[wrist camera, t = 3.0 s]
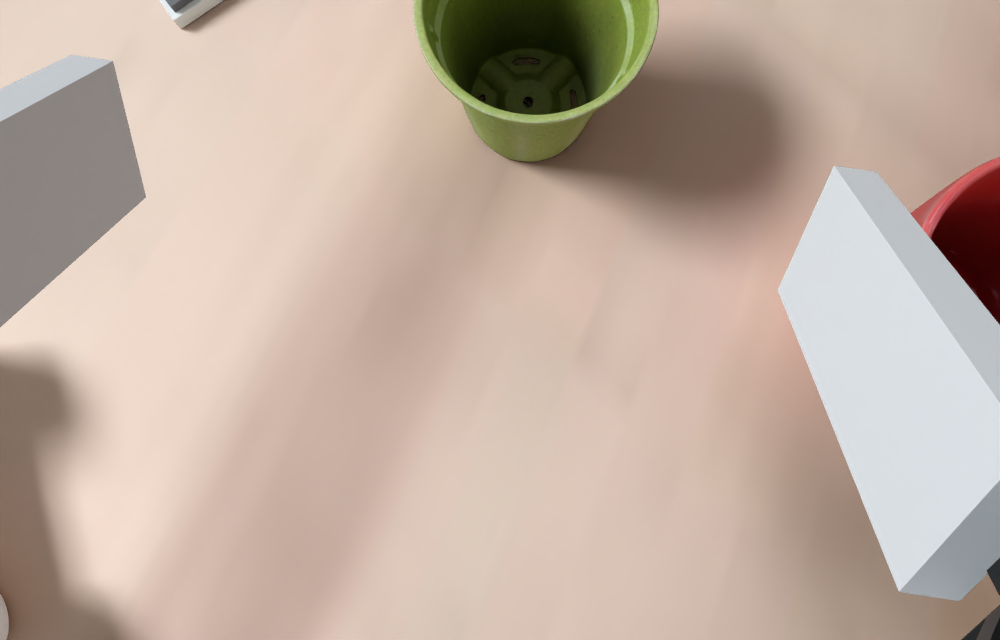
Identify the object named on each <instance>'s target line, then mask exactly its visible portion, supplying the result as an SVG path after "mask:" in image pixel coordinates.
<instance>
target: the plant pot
mask: <svg viewBox="0 0 1000 640" xmlns="http://www.w3.org/2000/svg"><path fill="white" fill-rule="evenodd" d="M413 13H414V24H415V30H416V34H417V38H418V41H419V44H420V47H421V49H422V52H423V54H424V56H425V59H426V61H427V62H428V64H429V66H430V68H431V69H432V71H433V72H434V74H435V75H436V77H437V78H438V79H439V81H440V82H441V83H442V84H443V85H444V86H445V87H446V88H447V89H448V90H449V91H450V92H451V93H452V94H453V95H454V96H455V97H456V98H458V99H459V100H460V101H461V102H462V104H463V106H464V108H465V111H466V113H467V115H468V117H469V119H470V122H471V124H472V126H473V128H474V130H475V132H476V134H477V135H478V136H479V137H480V138H481V140H482V141H483V142H484V143H485V144H487V145H488V146H489V147H490V148H491V149H493V150H494V151H495V152H497V153H498V154H500V155H502V156H504V157H506V158H509V159H513V160H518V161H528V162H532V161H540V160H544V159H548V158H551V157H553V156H555V155H557V154H559V153H560V152H562V151H563V150H564V149H566V148H567V147H568V146H569V145H570V144H572V143H573V142H574V141H575V140H576V138H577V137H578V136H579V135H580V133H581V131H582V130H583V128H584V127H585V126H586V124H587V122H588V121H589V119H590V118H591V116H592V115H593V113H594V112H595V111H596V110H597V109H599V108H601V107H602V106H604V105H606V104H607V103H609V102H610V101H611V100H613V99H614V98H615V97H616V96H618V95H619V94H620V93H621V92H622V91H623V90H624V89H625V88H626V87H627V86H628V85H629V84H630V83H631V82H632V81H633V80H634V78H635V77H636V75H637V74H638V73H639V71H640V70H641V68H642V66H643V65H644V63H645V61H646V59H647V58H648V56H649V53H650V51H651V49H652V46H653V43H654V40H655V36H656V32H657V27H658V18H659V5H658V0H414V6H413ZM521 57H531V58H535V59H538V60H539V61H540V62H539V64H537V65H535V64H520V65H514V64H513V61H514V60H515V59H517V58H521ZM571 90H573V91H575V92H576V97H577V102H578V107H577V108H574V109H571V95H570V91H571ZM483 94H484V95H485V103H483V102H481V101H479V100H478V98H479V97H480V95H483ZM526 97H530V98H532V100H533V104H532V106H530V107H526V106H525V105H524V99H525V98H526Z"/></svg>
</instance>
